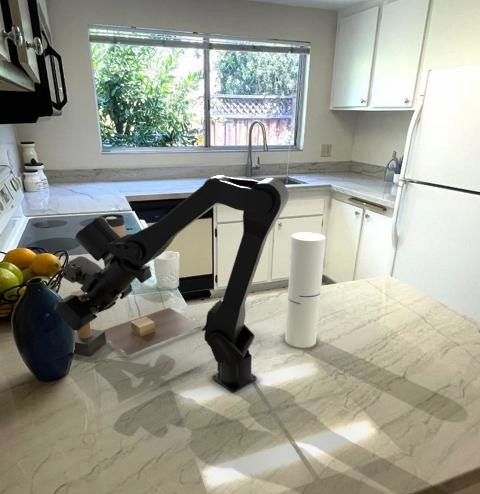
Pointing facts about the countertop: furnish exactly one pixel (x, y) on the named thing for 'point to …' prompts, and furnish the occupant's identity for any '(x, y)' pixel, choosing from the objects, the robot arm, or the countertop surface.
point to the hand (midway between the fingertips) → (76, 319)
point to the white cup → (167, 269)
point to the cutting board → (165, 328)
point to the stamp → (88, 337)
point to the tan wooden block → (143, 326)
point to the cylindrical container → (304, 288)
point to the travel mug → (115, 227)
